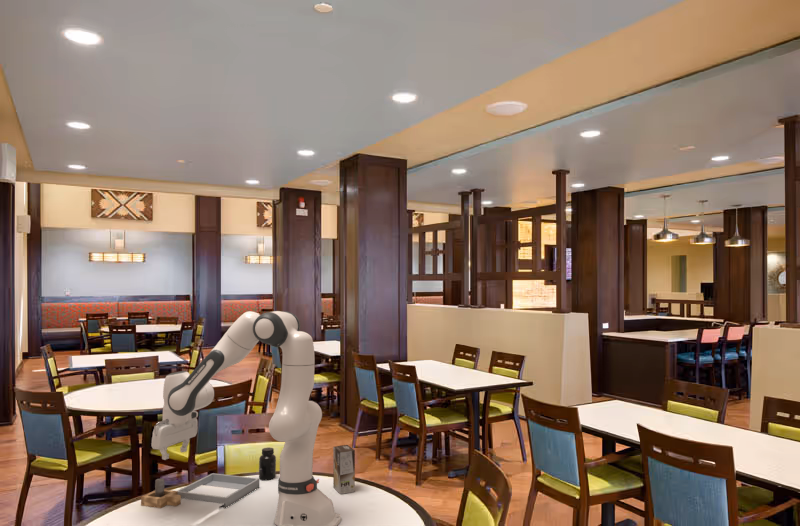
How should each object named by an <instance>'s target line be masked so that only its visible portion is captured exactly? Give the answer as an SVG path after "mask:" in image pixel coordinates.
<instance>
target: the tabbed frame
mask: <svg viewBox="0 0 800 526" xmlns="http://www.w3.org/2000/svg"><path fill="white" fill-rule="evenodd" d="M181 502H182V498H181V495H178V490H171V489H165V488H164V496H162V497H155V490H153V491H151V492H148V493H146V494H144V495H142V496H141V497H140V506H142V507H148V506H149V507H148V508H157V509H162V508H163V507H165V506H172V507H177V506H179V505H181V504H182V503H181Z"/></svg>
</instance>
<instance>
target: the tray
mask: <svg viewBox="0 0 800 526" xmlns="http://www.w3.org/2000/svg"><path fill="white" fill-rule="evenodd" d="M200 486H206V487H207V486H208V487H215V488H223V489H231V490H235V491H234V492H232V493H230V494H228V495H227V496H220V495H210V494H203V493H195V492H191V491H192V490H195V489H196V488H198V487H200ZM257 488H258V489H259V488H260V479H259V477H258V478H256V477H249V476H248V477H247V476H241V475H240V476H239V475H232V474H223V473H214V472H213V473H210V474H207V475H206V476H204V477H201V479H198V480H195V481H194V482H192V483H190V484H188V485H186V486H184V487H182V488H180V489H178V490H177V491H178V495H181V499H184V500H185V499H186V500H192V501H193V500H194V501H200V502H201V501H202V502H208V503H216V504H222V505H220V506H219V508H221V507H225V508H224V509H227V508H229V507H230V506H232V505H233V503H234V502H235V503H237V502H239V501H240V500H242V499H244V498H245V497H247V496H248V495H250V494H251V493H253V492H254V490H255V489H256V490H258V489H257ZM256 490H255V491H256ZM252 491H253V492H252ZM250 492H251V493H250ZM249 493H250V494H249ZM247 494H248V495H247ZM246 495H247V496H246ZM244 496H245V497H244ZM241 498H242V499H241ZM239 499H240V500H239ZM236 501H237V502H236ZM235 503H234V504H235ZM231 504H232V505H231ZM228 506H229V507H228ZM226 507H227V508H226Z"/></svg>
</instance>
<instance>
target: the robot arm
mask: <svg viewBox="0 0 800 526" xmlns="http://www.w3.org/2000/svg"><path fill="white" fill-rule="evenodd" d="M300 329H301V321H300V319H299V317H298V316H297V315H296V314H294V313H293V312H290V311H280V310H275V311H270V312H269V311H267V312H264V313H262V314H260V313H257V312H256V311H252V310H251V311H250V310H249V311H248V310H247V311H246V312H243V314H241V315H240V316H239V317H238V318H237V319H236V320H235V321H234V322H233V323H232V324H231V325H230V327H229V328H228V329H227V331H226V332H225V333H224V334H223V336H222V337H221V338H220V340H219V341H218V342H217V343H216V345H215V346H214V347H213V348H212V349H211V350H210V352H209V353H208V354H207V355H206V356H204V358H203V359H202V360H201V361H200V363H199V364H198V365H197V366H196V367H195V368H194V370H192V372H191V373H190V372H188V371H185V370H183V371H182V370H181V371H176V372H171V373H169V374H166V376H165V378H164V382H163V391H162V398H163V399H162V400H163V407H162V420H161V421H157V423H156V424H155V425H154V428H153V431H152V437H151V443H150V444H151V446H150V447H151V448H152V449H153V450H159V451H160V454H161V459H162V460H164V461H167V460H168V459H170V453H168V452H167V451H168V448H169V447H170V446H173V445H177V444H179V443H181V442H182V444H181V446H180V453H186V452H187V451H188V446H189V443H190V439H192V438H195V437H196V436H197V433H198V429H199V428H198V423H199V421H198V419H197V418H198V416H199V412H198V411H197V410H200V409H203V408H206V407H207V406H209V405H211V404H212V402H213V401H214V399H215V389H214V387H213V385H212V384H211V383H210V381H211V380H212V379H213V377H215V375H217V374H218V373H219V372H222V371H223V370H226V369H228V368H229V367H232V366H235V365H237V364H239V363H241V362H242V361H243V360H244V359H245V358H246V357H247V356H248V355H249V354H250V353H252V352H251V351H252V350H253V349H254V348H255V347H256V345H257V344H258V343H259V342H261V343H263V344H266V345H269V346H272V347H274V348H280V349H281V352H282V360H281V361H282V364H281V382H280V383H281V385H280V390H279V395H278V397H277V398H278V400H277V403H276V407H275V409H274V412H273V415H272V416H271V418H270V420H269V423H268V431H269V434H270V436H271V437H272V438H273V439H274V440H275V441H277V442H279V443H284V445H283V447H282V450H281V452H280V454H279V478H278V483H277V484H278V485H277V492H278V499H277V500H278V501H277V502H278V503H277V509H276V513H275V517H274V520H273V523H274V524H275V525H276V526H338V525H339V524H340V522H341V520H342V517H341V516H342V515H341V514H340V513H336V512H335V507H334V503H333V501H332V499H331V498H329V497H328V496H327V495H326V494H325V493H324V492H323V491H321V489H319V488H318V484H319V483H320V479H319V478H318V479H315V477H314V475H313V464H314V462H313V459H314V458H313V456H314V450H315V449H314V448H315V443H316V438H317V434H318V429H319V425H320V423H321V421H322V418H323V411H322V408H321V407H320V405H319V404H318V403H317V402H316V401H313V400H310V396H311V393H312V391H313V389H314V386H315V363H316V362H315V347H314V340H313V339H314V338H313V337H312V336H311V335H310V334H309V333H307V332H305V331H301V330H300Z"/></svg>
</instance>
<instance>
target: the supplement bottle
mask: <svg viewBox="0 0 800 526" xmlns="http://www.w3.org/2000/svg"><path fill="white" fill-rule="evenodd" d="M274 450H275V449H274V448H273V447H264V448H262V449H261V455H260V457H259V460H258V461H259V463H258V478H259V480H260V481H272V480H274V479H275V478H276V476H277V475H276V474H277V473H276V472H277V471H276V470H277V457H276V454H275V451H274ZM271 479H272V480H271Z"/></svg>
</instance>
